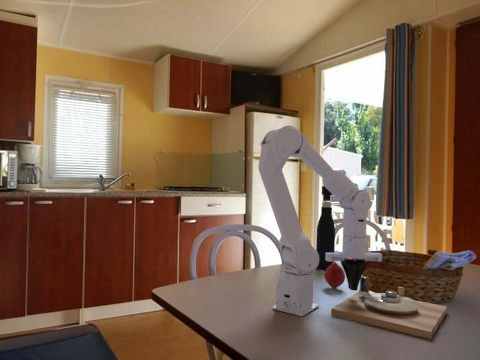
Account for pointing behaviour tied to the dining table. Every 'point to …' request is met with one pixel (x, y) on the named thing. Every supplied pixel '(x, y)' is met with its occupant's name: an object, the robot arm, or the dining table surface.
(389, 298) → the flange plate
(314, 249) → the robot arm
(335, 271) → the red oval fruit
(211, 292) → the dining table surface
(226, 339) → the dining table surface
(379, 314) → the base board
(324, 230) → the wine bottle
